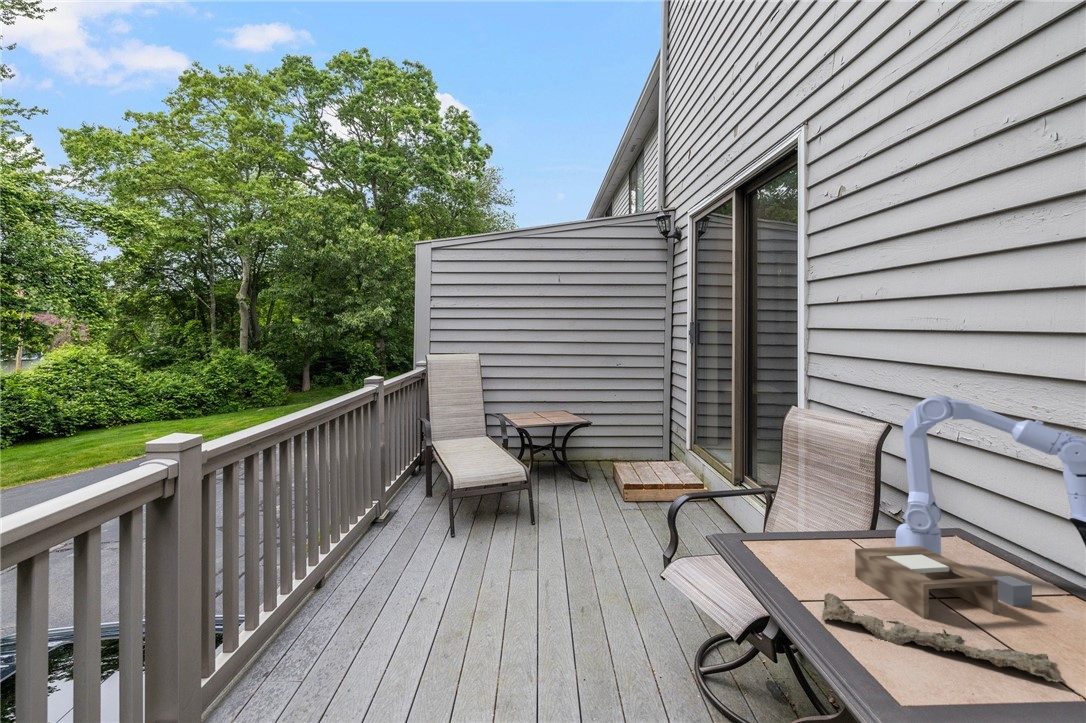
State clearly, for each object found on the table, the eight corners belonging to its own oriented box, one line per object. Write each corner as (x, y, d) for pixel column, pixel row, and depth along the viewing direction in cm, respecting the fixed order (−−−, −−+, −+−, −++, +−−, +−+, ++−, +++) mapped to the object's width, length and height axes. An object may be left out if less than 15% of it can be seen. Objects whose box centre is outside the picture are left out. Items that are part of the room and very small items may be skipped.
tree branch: (1045, 664, 86) (1045, 648, 86) (1063, 697, 78) (1064, 679, 78) (824, 604, 106) (825, 591, 106) (820, 626, 97) (820, 611, 97)
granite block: (991, 596, 109) (991, 576, 109) (1009, 595, 109) (1009, 575, 109) (1013, 607, 104) (1013, 586, 104) (1031, 605, 105) (1031, 585, 105)
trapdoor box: (855, 577, 119) (855, 548, 119) (918, 573, 120) (918, 545, 120) (923, 618, 100) (923, 584, 100) (997, 613, 101) (997, 580, 101)
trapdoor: (886, 560, 114) (886, 556, 114) (921, 558, 115) (921, 554, 115) (912, 573, 107) (912, 568, 107) (949, 571, 108) (949, 566, 108)
